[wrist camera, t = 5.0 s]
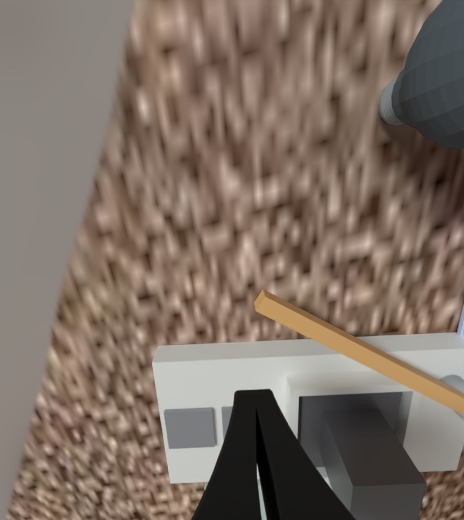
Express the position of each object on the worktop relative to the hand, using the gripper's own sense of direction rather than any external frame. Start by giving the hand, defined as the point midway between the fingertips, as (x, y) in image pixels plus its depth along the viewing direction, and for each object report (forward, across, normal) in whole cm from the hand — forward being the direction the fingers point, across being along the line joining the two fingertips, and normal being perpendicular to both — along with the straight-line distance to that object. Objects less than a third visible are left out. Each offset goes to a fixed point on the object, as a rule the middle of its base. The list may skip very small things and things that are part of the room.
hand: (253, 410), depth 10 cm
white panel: (+10, -6, +10) cm, 15 cm away
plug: (+8, -8, +10) cm, 15 cm away
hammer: (+8, -8, +3) cm, 12 cm away
